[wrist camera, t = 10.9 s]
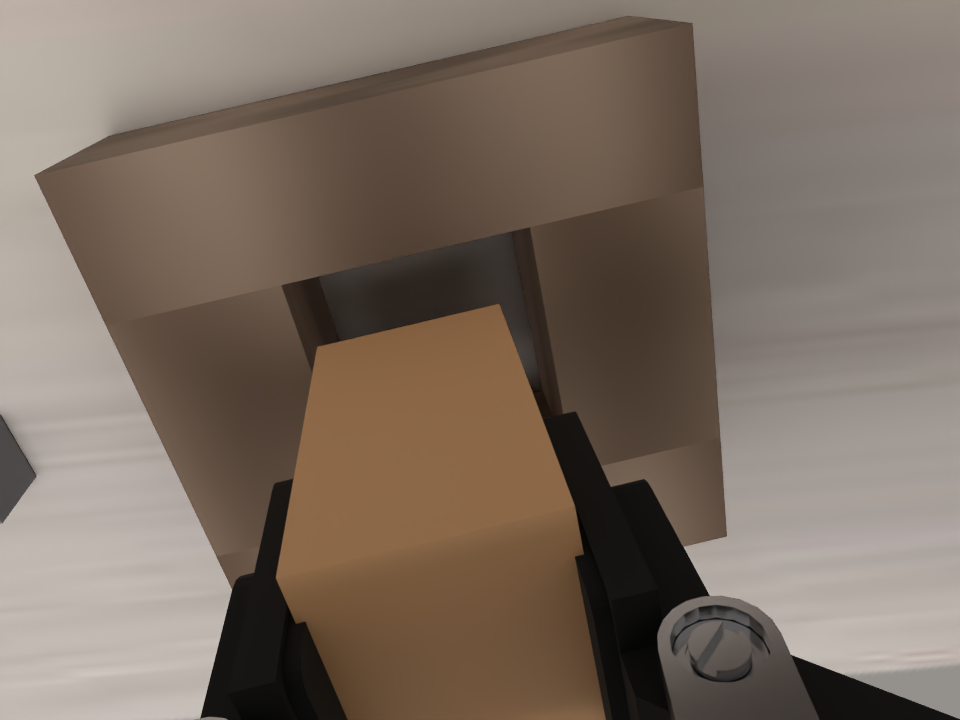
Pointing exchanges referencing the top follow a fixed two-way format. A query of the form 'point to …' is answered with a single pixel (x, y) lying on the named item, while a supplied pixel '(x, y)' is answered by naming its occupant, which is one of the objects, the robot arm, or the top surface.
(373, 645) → the plug
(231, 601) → the robot arm
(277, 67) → the top surface
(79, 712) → the top surface
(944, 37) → the top surface
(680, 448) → the port block
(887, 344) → the top surface
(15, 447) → the grey block stand
